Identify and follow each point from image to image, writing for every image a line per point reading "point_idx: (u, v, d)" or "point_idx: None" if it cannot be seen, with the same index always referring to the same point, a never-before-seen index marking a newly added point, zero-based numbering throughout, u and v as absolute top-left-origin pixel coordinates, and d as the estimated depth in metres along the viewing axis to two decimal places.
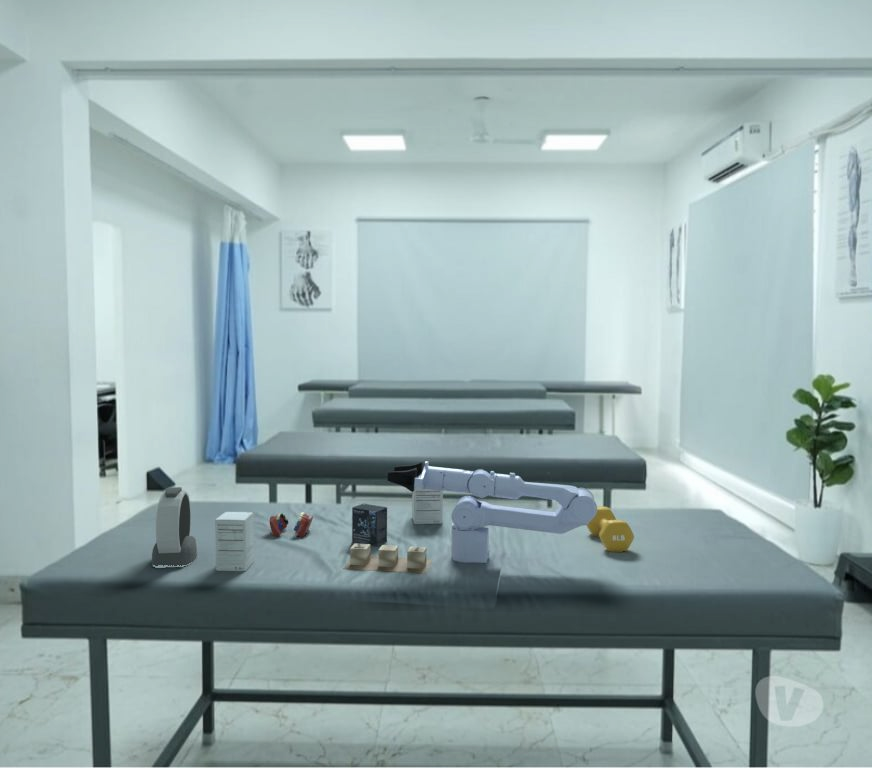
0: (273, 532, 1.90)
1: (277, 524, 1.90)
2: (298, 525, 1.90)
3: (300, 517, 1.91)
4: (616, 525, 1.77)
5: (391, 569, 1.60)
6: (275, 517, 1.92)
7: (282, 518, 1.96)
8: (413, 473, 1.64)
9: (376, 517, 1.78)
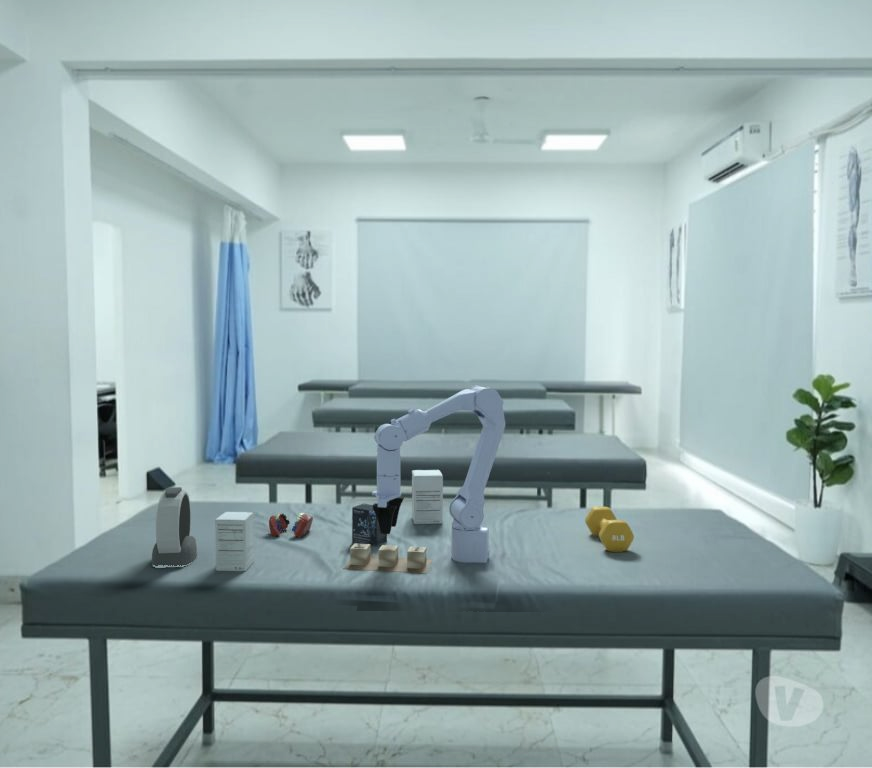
0: (272, 532, 1.90)
1: (276, 524, 1.90)
2: (296, 525, 1.90)
3: (298, 518, 1.91)
4: (616, 525, 1.77)
5: (391, 569, 1.60)
6: (275, 517, 1.93)
7: (283, 518, 1.96)
8: (375, 507, 1.58)
9: (376, 517, 1.78)
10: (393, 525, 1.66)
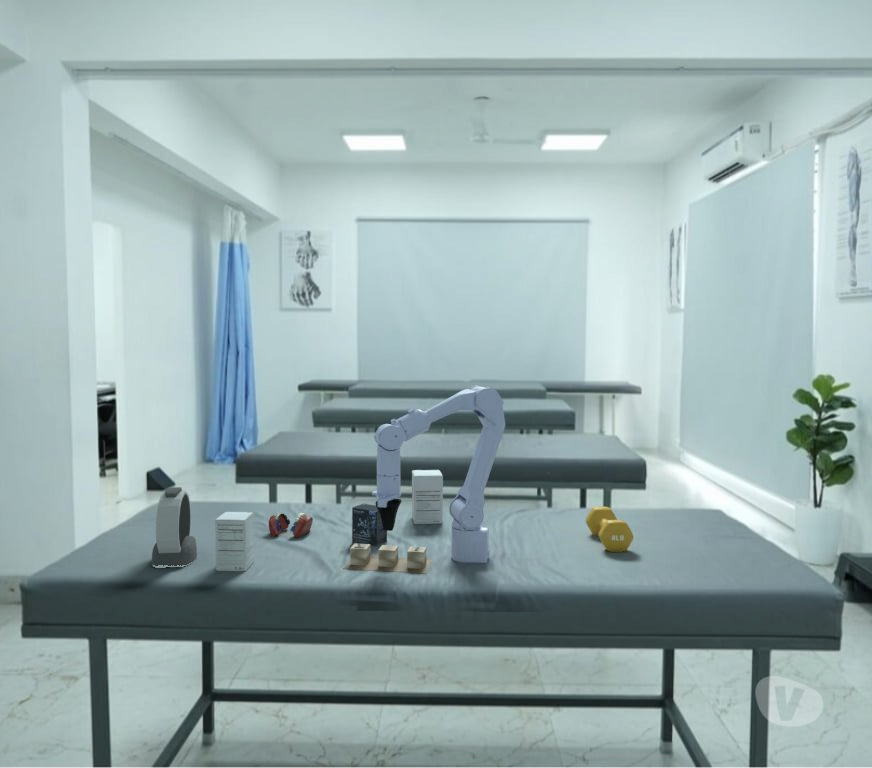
0: (271, 532, 1.90)
1: (275, 524, 1.91)
2: (294, 526, 1.89)
3: (297, 518, 1.90)
4: (615, 525, 1.77)
5: (391, 569, 1.60)
6: (274, 517, 1.93)
7: (283, 518, 1.96)
8: None
9: (376, 517, 1.78)
10: None
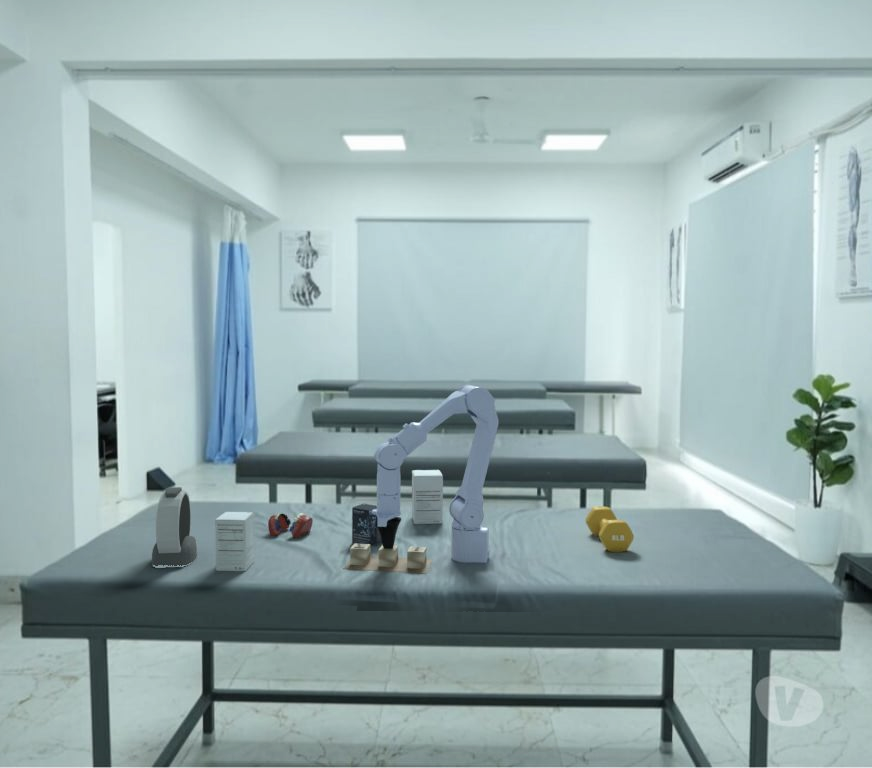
0: (270, 531, 1.90)
1: (274, 524, 1.91)
2: (293, 526, 1.89)
3: (296, 518, 1.90)
4: (616, 525, 1.77)
5: (391, 569, 1.60)
6: (274, 517, 1.93)
7: (284, 518, 1.96)
8: (378, 523, 1.61)
9: (376, 517, 1.78)
10: None
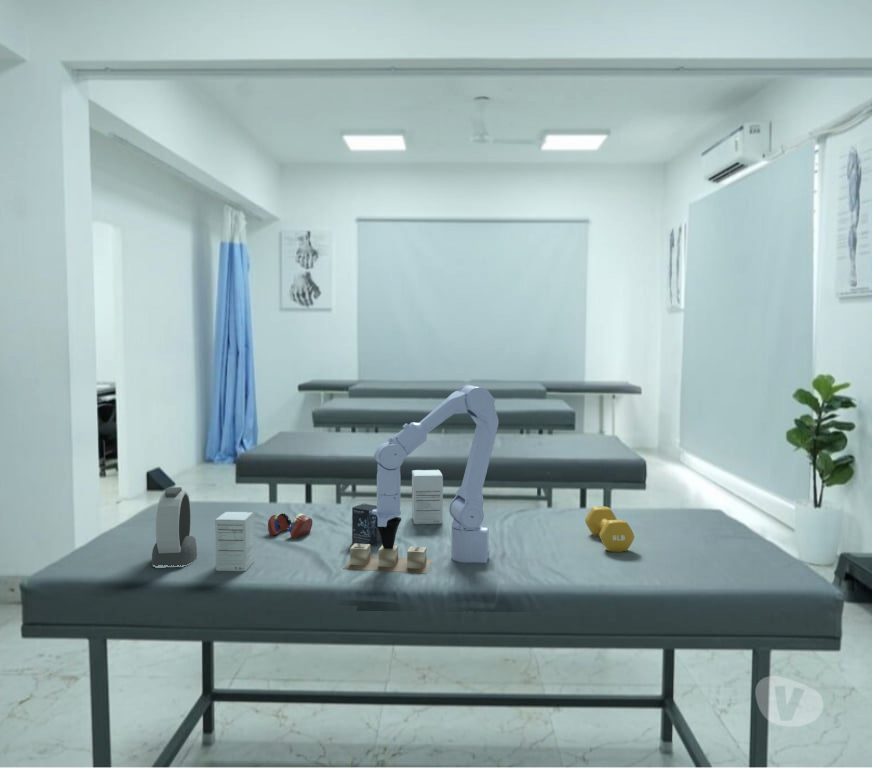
0: (269, 531, 1.91)
1: (274, 524, 1.91)
2: (292, 526, 1.89)
3: None
4: (616, 525, 1.77)
5: (391, 569, 1.60)
6: (274, 516, 1.93)
7: (284, 518, 1.96)
8: (378, 523, 1.61)
9: (376, 517, 1.78)
10: None
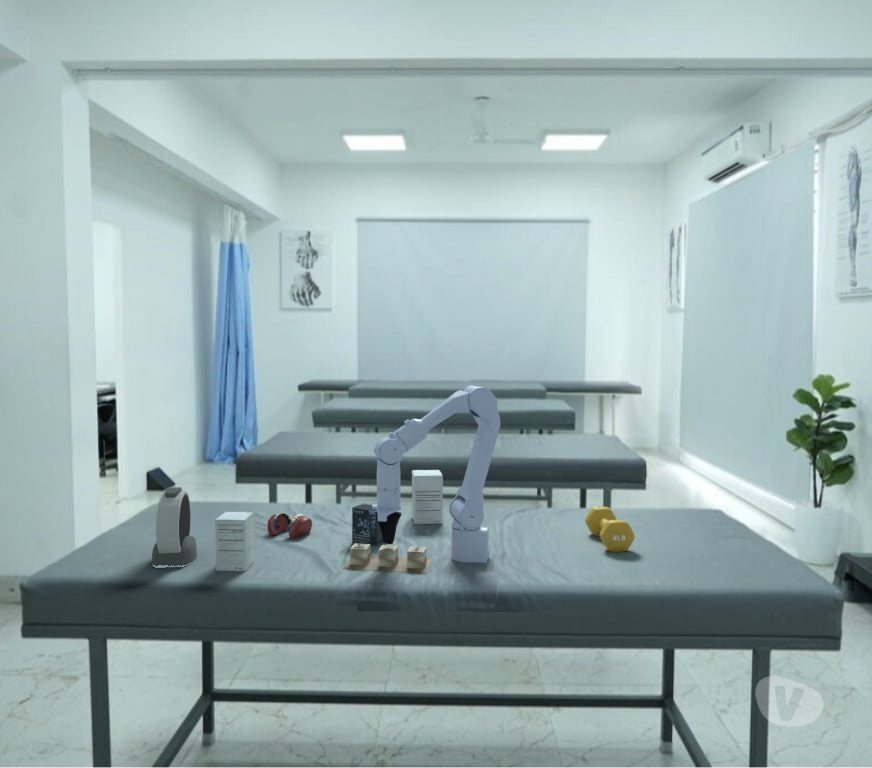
0: (269, 531, 1.91)
1: (273, 523, 1.91)
2: (290, 526, 1.89)
3: (294, 519, 1.89)
4: (617, 525, 1.77)
5: (391, 569, 1.60)
6: (274, 516, 1.93)
7: (285, 518, 1.96)
8: None
9: None
10: None
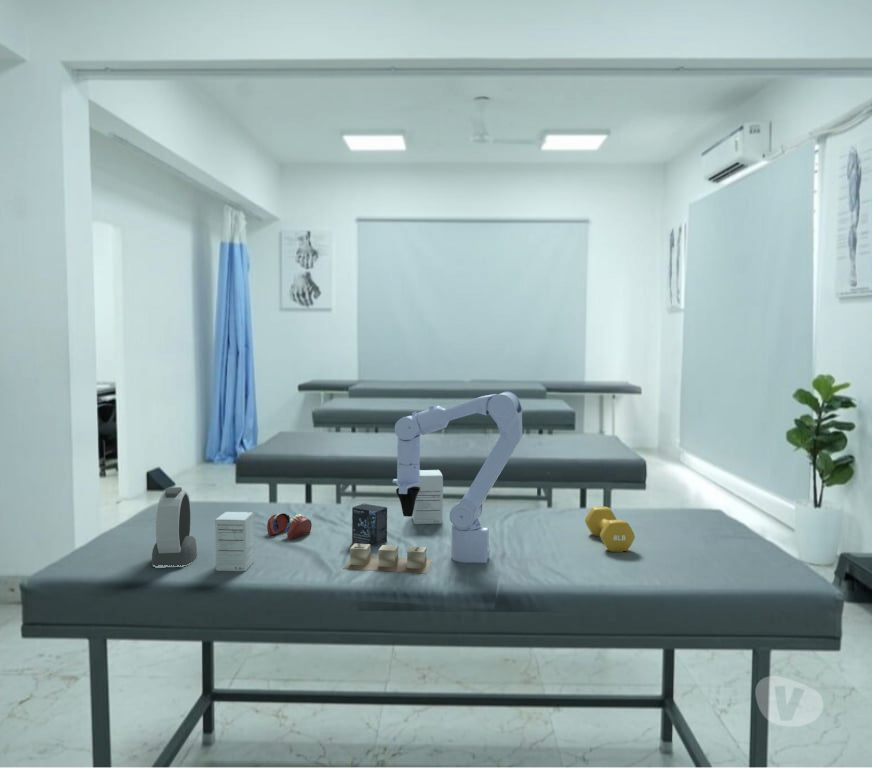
0: (268, 531, 1.91)
1: (272, 523, 1.91)
2: (288, 527, 1.88)
3: (292, 519, 1.89)
4: (617, 525, 1.77)
5: (391, 569, 1.60)
6: (274, 516, 1.93)
7: (285, 518, 1.96)
8: (398, 491, 1.70)
9: (376, 517, 1.78)
10: None
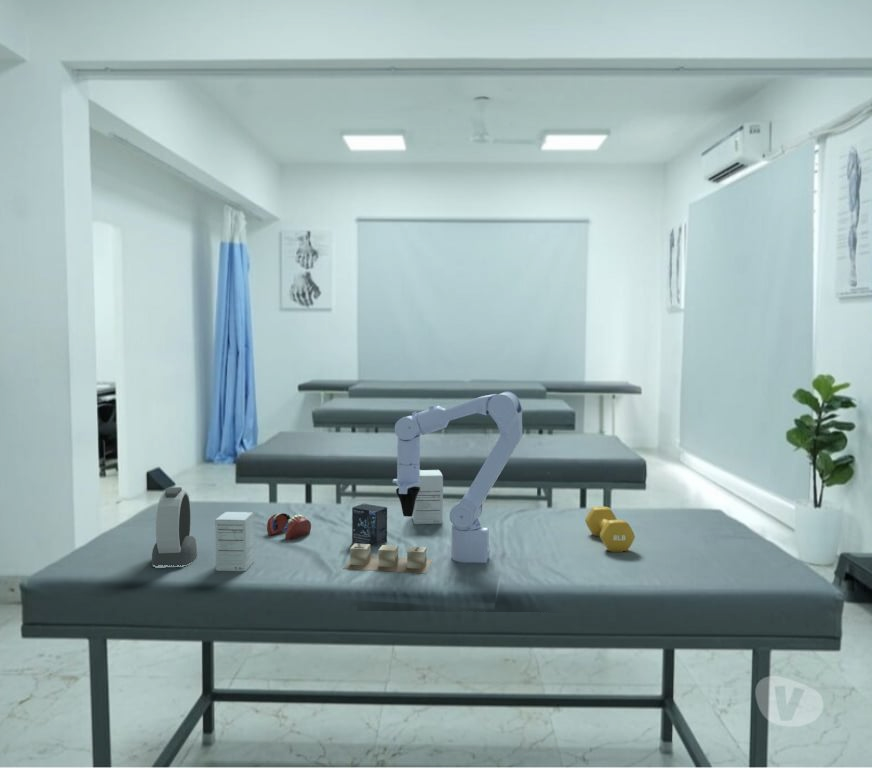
0: (268, 530, 1.91)
1: (272, 523, 1.91)
2: (287, 527, 1.88)
3: (290, 519, 1.89)
4: (617, 525, 1.77)
5: (391, 569, 1.60)
6: (274, 516, 1.94)
7: (286, 518, 1.96)
8: (398, 491, 1.70)
9: (376, 517, 1.78)
10: None
